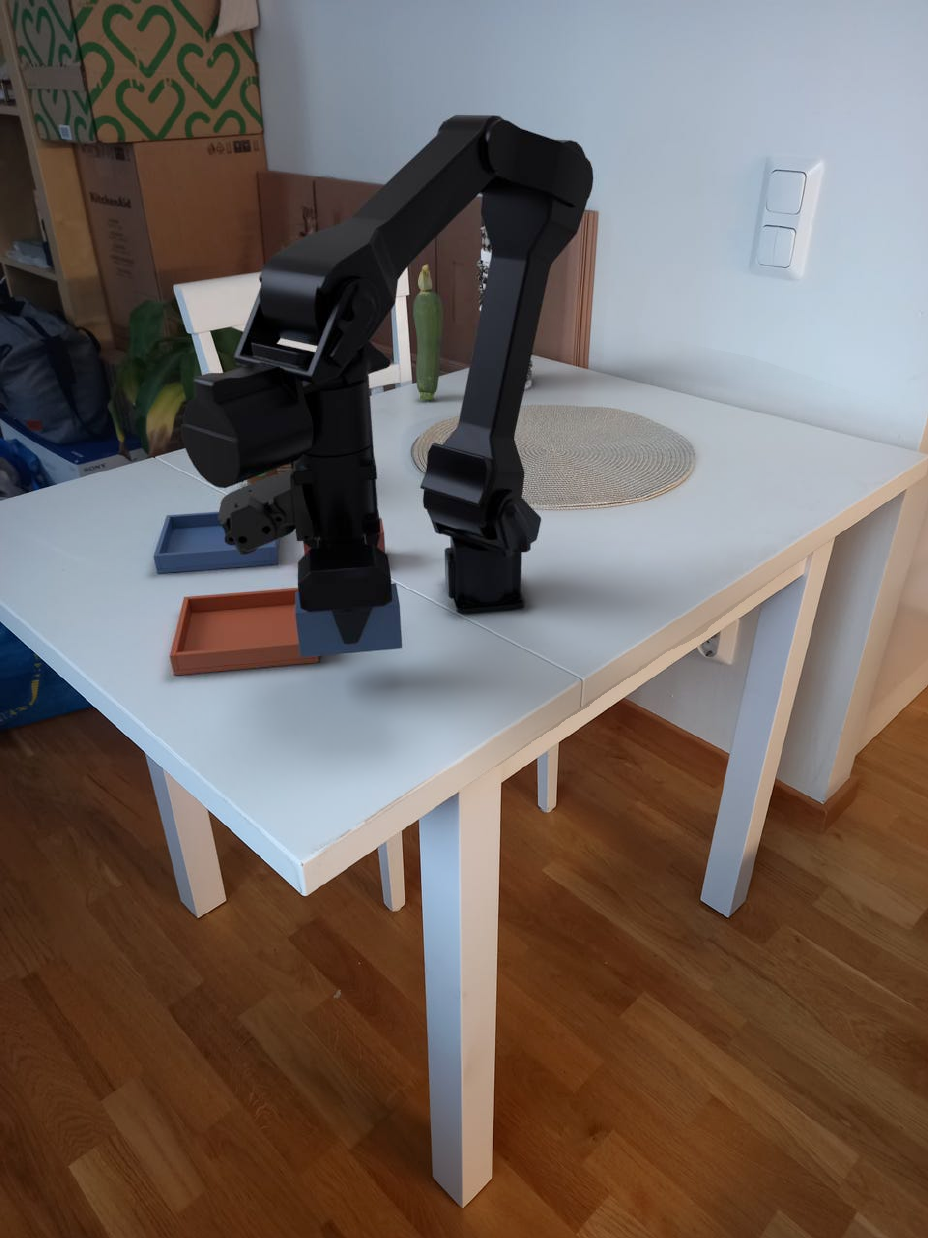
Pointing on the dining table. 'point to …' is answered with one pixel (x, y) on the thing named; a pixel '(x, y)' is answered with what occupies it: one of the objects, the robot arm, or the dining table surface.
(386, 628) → the blue bar
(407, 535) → the dining table surface
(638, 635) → the dining table surface
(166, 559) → the blue tray
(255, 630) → the orange tray
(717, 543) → the dining table surface
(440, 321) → the vegetable
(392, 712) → the dining table surface
